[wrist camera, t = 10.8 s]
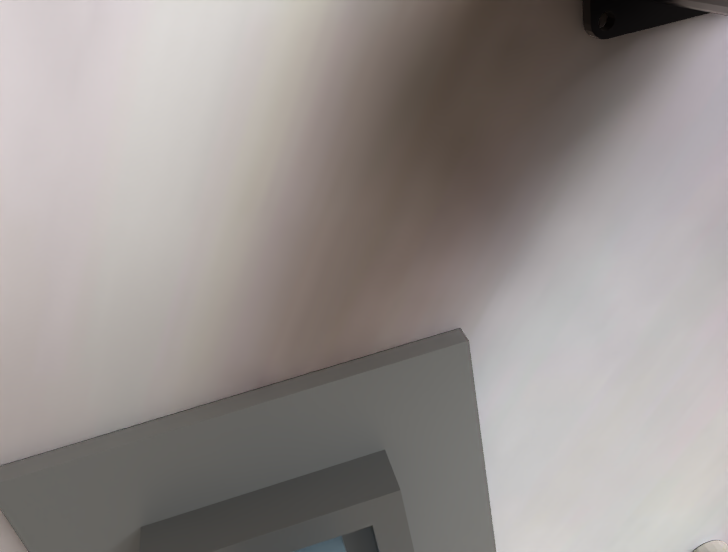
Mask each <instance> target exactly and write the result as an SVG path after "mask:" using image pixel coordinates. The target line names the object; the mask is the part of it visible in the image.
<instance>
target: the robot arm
mask: <svg viewBox="0 0 728 552" xmlns="http://www.w3.org/2000/svg"><path fill="white" fill-rule="evenodd" d="M604 12H607V16H608V18H607V22H606V23H605V25H604V26H603V27H601V28H600V27H599V18H600V17H601V15H602V14H603V13H604ZM707 13H717V14H722V15H727V16H728V0H583V23H584V28H585V31H586V32H587V33H588V35H591V36H593V37H595V38H599V39H609V38H613V37H617V36H621V35H624V34H628V33H632V32H636V31H640V30H644V29H648V28H652V27H656V26H660V25H664V24H668V23H672V22H676V21H680V20H683V19H687V18H691V17H695V16H699V15H703V14H707Z"/></svg>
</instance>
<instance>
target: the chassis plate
mask: <svg viewBox="0 0 728 552" xmlns="http://www.w3.org/2000/svg"><path fill="white" fill-rule="evenodd" d="M0 509H1V511H2V512H3V514H4V515H5V517H6V518H7V520H8V521H9V523H10V524H11V526H12V527H13V529H14V530H15V532H16V533H17V535H18V536H19V538H20V539H21V541H22V542H23V544H24V545H25V547H26V548H27V550H28V551H29V552H293V551H296V550H299V549H302V548H305V547H308V546H311V545H314V544H317V543H320V542H323V541H327V540H330V539H333V538H336V537H339V536H342V538H343V541H344V544H345V548H346V551H347V552H496V547H495V539H494V531H493V524H492V516H491V508H490V501H489V493H488V485H487V478H486V470H485V462H484V454H483V447H482V439H481V431H480V424H479V416H478V408H477V401H476V393H475V385H474V377H473V370H472V362H471V354H470V347H469V340H468V339H467V337H466V336H465V334H464V333H463V331H462V330H461V329H460V328H459V329H456V330H452V331H449V332H446V333H442V334H439V335H436V336H432V337H429V338H426V339H422V340H419V341H416V342H412V343H409V344H406V345H402V346H399V347H396V348H392V349H389V350H386V351H382V352H379V353H376V354H372V355H369V356H366V357H362V358H359V359H356V360H352V361H349V362H346V363H342V364H339V365H336V366H332V367H329V368H326V369H322V370H319V371H316V372H312V373H309V374H306V375H302V376H299V377H296V378H292V379H289V380H286V381H282V382H279V383H276V384H272V385H269V386H266V387H262V388H259V389H256V390H252V391H249V392H246V393H242V394H239V395H236V396H232V397H229V398H226V399H222V400H219V401H216V402H212V403H209V404H206V405H202V406H199V407H196V408H192V409H189V410H186V411H182V412H179V413H176V414H172V415H169V416H166V417H162V418H159V419H156V420H152V421H149V422H146V423H142V424H139V425H136V426H132V427H129V428H126V429H122V430H119V431H116V432H112V433H109V434H106V435H102V436H99V437H96V438H92V439H89V440H86V441H82V442H79V443H76V444H72V445H69V446H66V447H62V448H59V449H56V450H52V451H49V452H46V453H42V454H39V455H36V456H32V457H29V458H26V459H22V460H19V461H16V462H12V463H9V464H6V465H2V466H0Z"/></svg>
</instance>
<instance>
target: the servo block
mask: <svg viewBox="0 0 728 552" xmlns="http://www.w3.org/2000/svg"><path fill="white" fill-rule="evenodd" d="M293 552H347V551H346V548H345V544H344V541H343V538H342V536H339V537H336V538H333V539H330V540H327V541H323V542H320V543H317V544H314V545H311V546H308V547H305V548H302V549H299V550H296V551H293Z"/></svg>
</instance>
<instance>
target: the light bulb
mask: <svg viewBox="0 0 728 552" xmlns="http://www.w3.org/2000/svg"><path fill="white" fill-rule="evenodd" d="M693 552H728V545H727V544H726V543H725V542H723V541H719V540H715V541H710V542H708V543H705V544H703V545H701V546H700V547H698V548H697V549H696V550H694V551H693Z"/></svg>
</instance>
